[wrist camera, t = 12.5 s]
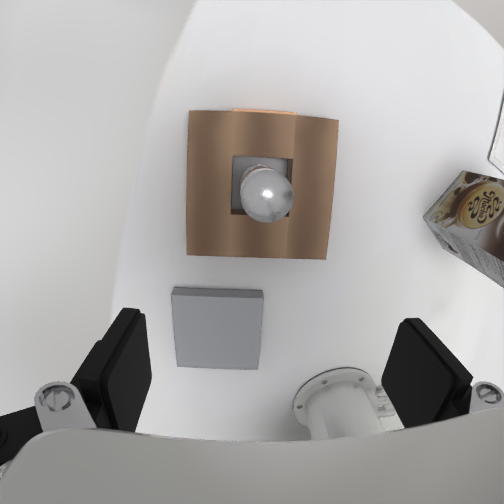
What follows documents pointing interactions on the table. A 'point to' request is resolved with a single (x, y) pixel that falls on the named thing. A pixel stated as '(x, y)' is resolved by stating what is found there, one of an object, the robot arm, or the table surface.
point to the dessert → (492, 157)
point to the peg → (265, 193)
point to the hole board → (259, 145)
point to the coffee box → (472, 222)
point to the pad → (217, 327)
